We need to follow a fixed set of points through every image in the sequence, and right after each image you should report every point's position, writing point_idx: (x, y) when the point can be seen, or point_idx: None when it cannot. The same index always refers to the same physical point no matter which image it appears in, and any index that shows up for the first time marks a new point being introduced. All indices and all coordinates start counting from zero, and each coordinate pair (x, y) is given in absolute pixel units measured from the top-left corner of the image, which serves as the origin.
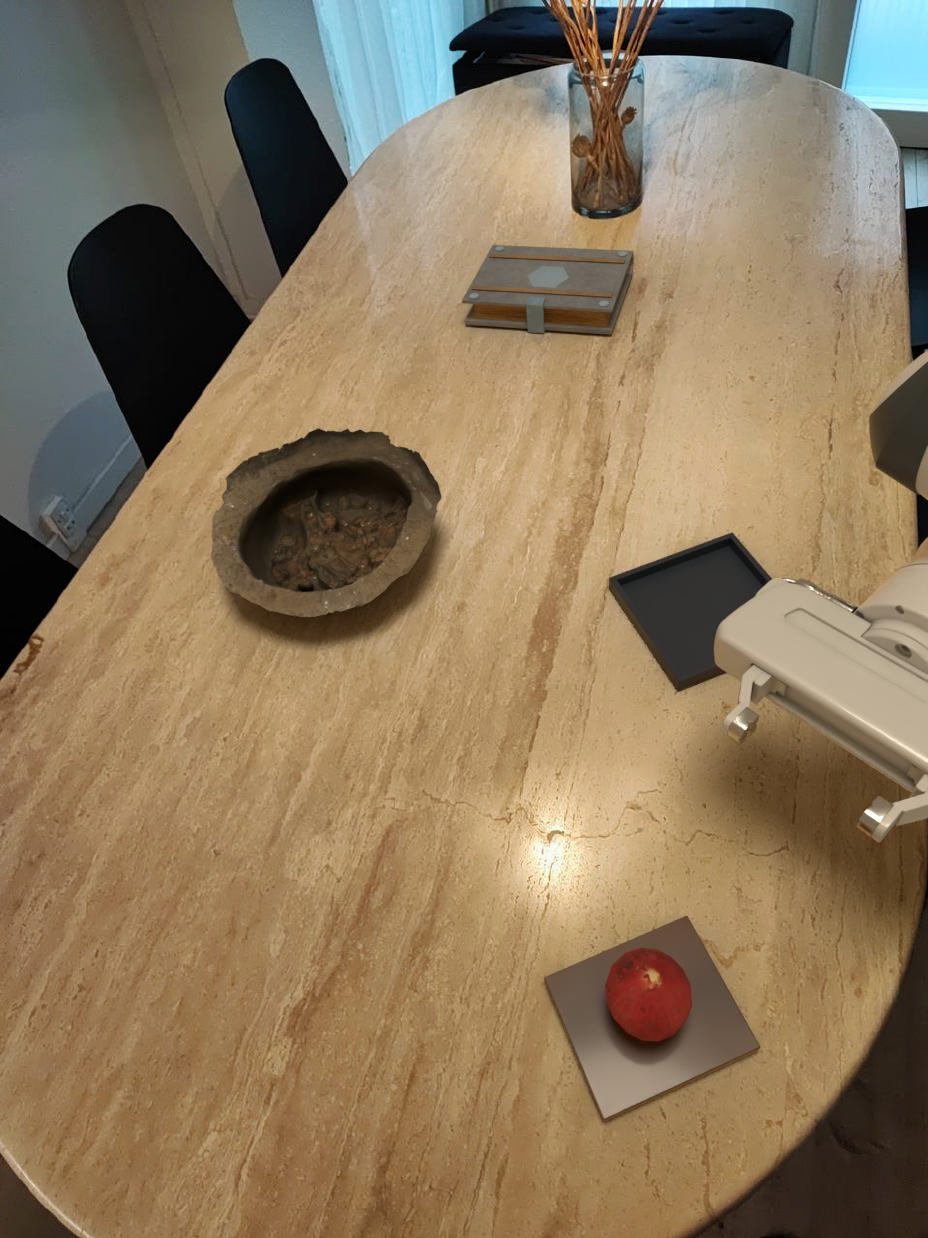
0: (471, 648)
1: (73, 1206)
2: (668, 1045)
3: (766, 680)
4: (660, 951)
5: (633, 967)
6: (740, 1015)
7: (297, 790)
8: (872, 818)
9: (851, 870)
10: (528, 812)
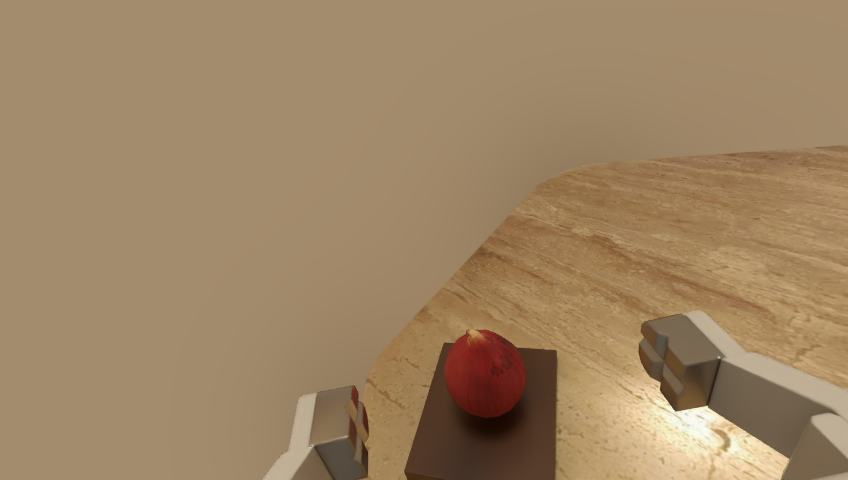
0: None
1: (552, 177)
2: (455, 404)
3: (839, 446)
4: (504, 383)
5: (497, 339)
6: (435, 474)
7: (828, 262)
8: (332, 392)
9: None
10: None
